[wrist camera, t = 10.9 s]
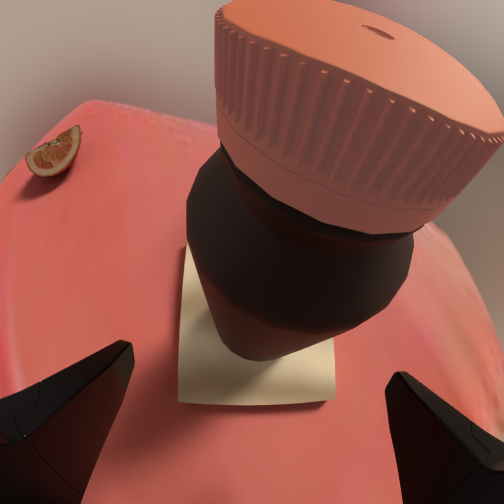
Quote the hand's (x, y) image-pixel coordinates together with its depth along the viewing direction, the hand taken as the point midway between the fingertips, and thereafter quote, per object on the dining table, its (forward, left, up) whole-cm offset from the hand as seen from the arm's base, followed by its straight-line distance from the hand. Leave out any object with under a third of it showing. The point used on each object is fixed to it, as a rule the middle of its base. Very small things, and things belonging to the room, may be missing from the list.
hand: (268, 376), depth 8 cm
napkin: (+5, -1, -14) cm, 14 cm away
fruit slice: (+23, +24, -14) cm, 36 cm away
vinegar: (+4, -1, -12) cm, 13 cm away
